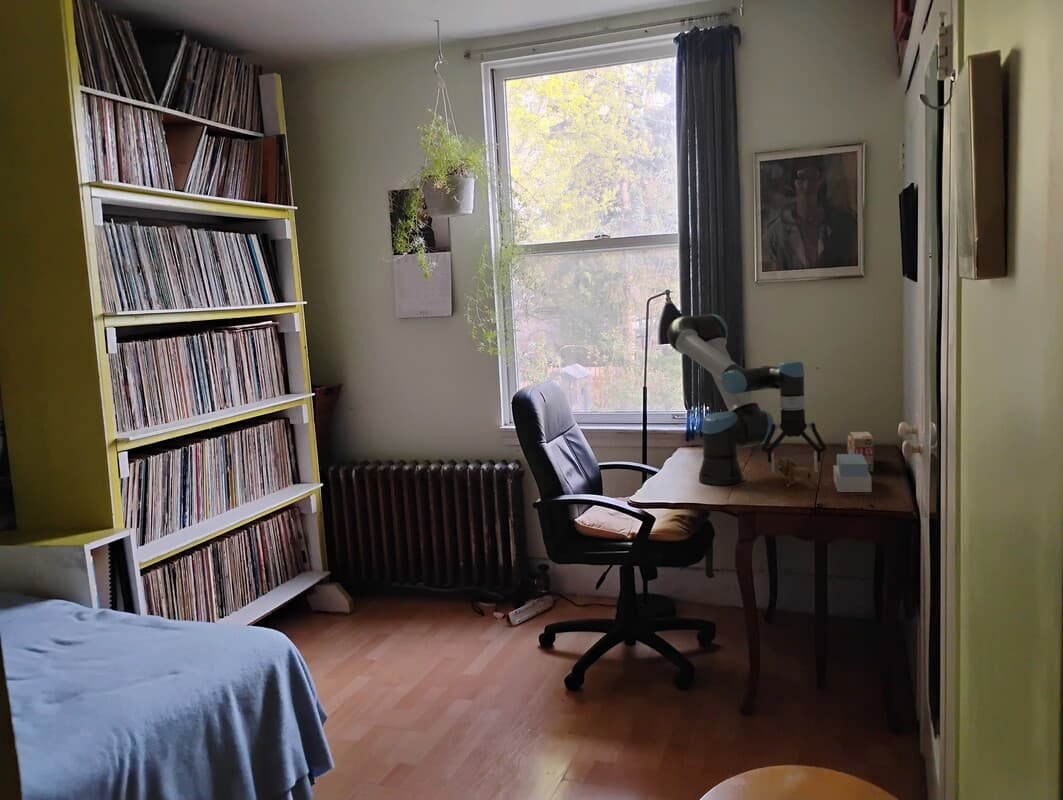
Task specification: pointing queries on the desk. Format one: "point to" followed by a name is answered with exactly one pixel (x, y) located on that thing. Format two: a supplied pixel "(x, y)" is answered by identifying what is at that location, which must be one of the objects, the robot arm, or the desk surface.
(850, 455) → the two-tone layered slab
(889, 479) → the desk surface
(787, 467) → the lion figurine
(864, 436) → the stack of blocks
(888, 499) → the desk surface
